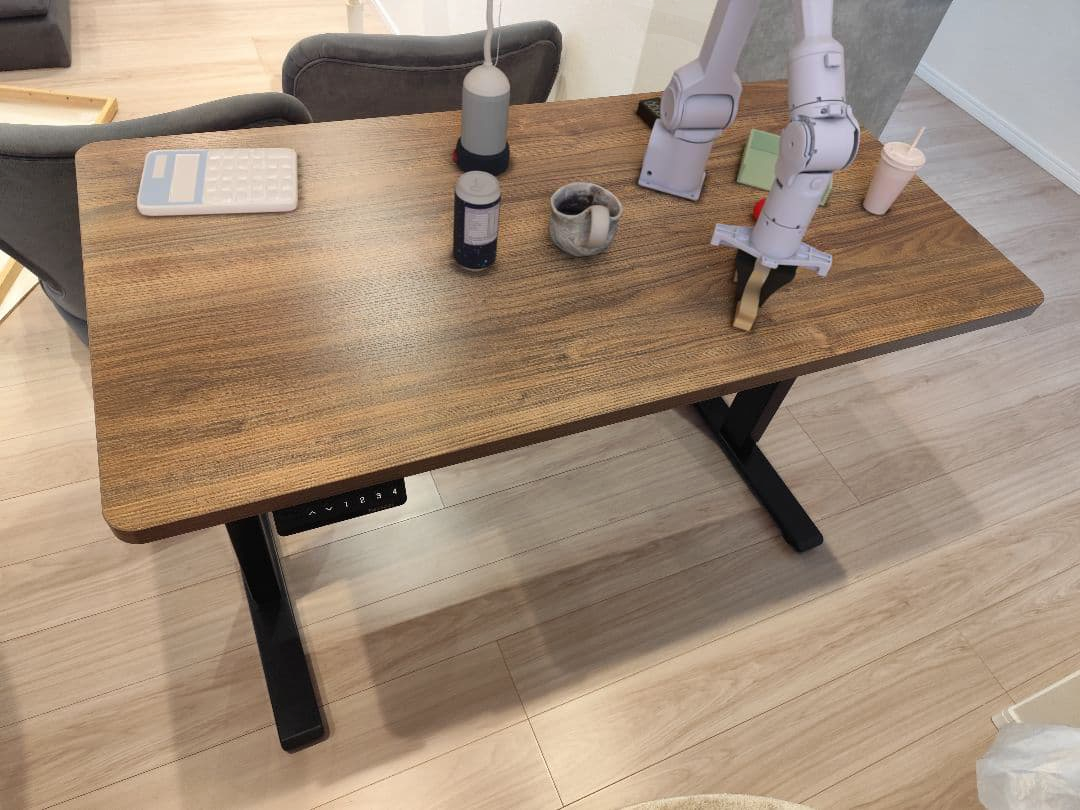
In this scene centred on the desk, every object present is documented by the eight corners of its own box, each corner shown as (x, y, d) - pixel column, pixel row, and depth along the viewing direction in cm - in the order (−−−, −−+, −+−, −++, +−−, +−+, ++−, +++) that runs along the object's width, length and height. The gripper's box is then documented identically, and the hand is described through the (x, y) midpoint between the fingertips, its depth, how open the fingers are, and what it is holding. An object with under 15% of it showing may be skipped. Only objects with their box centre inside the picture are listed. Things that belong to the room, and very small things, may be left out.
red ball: (748, 224, 110) (756, 203, 107) (751, 210, 112) (759, 190, 109) (771, 230, 109) (780, 210, 106) (774, 217, 111) (782, 197, 109)
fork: (757, 333, 95) (765, 318, 92) (724, 324, 95) (731, 308, 93) (770, 256, 105) (777, 240, 103) (740, 247, 106) (747, 231, 103)
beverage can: (501, 254, 99) (508, 177, 89) (486, 279, 95) (491, 201, 86) (462, 241, 99) (465, 164, 90) (445, 266, 96) (447, 188, 87)
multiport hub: (656, 108, 128) (659, 96, 126) (692, 142, 122) (696, 129, 121) (635, 112, 126) (638, 100, 125) (671, 146, 121) (674, 134, 119)
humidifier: (444, 156, 112) (446, -20, 92) (486, 141, 115) (497, -31, 96) (476, 183, 108) (486, 6, 89) (519, 167, 112) (537, -6, 93)
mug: (598, 220, 106) (612, 159, 98) (632, 277, 99) (649, 216, 91) (535, 227, 103) (544, 165, 95) (565, 287, 96) (577, 224, 88)
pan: (823, 205, 115) (832, 187, 112) (736, 181, 116) (743, 163, 114) (829, 142, 128) (837, 124, 125) (751, 121, 129) (757, 103, 127)
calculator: (298, 212, 99) (296, 200, 98) (138, 218, 95) (133, 205, 94) (297, 156, 107) (296, 144, 106) (149, 159, 103) (145, 147, 102)
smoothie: (896, 223, 114) (945, 142, 103) (856, 214, 114) (900, 132, 103) (892, 200, 118) (938, 119, 107) (853, 191, 118) (895, 110, 108)
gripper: (721, 215, 84) (689, 302, 95) (846, 250, 83) (800, 334, 93) (730, 183, 89) (698, 269, 99) (848, 215, 87) (804, 300, 98)
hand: (748, 299), depth 96 cm, fingers closed on fork, 2 cm apart
